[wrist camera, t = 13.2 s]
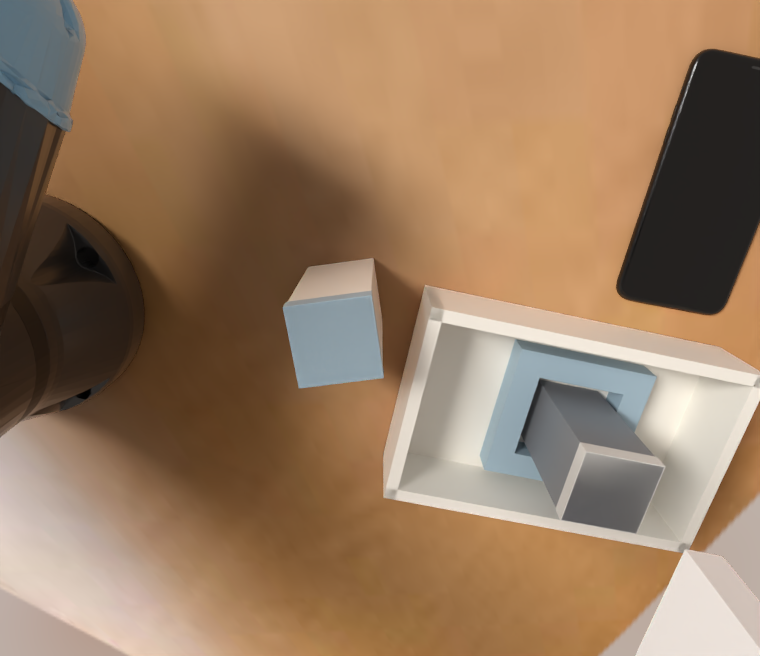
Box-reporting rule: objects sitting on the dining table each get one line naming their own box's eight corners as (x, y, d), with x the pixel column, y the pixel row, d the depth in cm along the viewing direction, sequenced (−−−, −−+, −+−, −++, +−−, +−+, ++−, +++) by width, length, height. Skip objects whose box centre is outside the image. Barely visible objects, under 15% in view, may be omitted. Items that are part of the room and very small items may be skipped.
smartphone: (715, 315, 40) (813, 72, 35) (722, 319, 39) (824, 71, 34) (608, 294, 39) (692, 46, 34) (613, 298, 38) (700, 43, 33)
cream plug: (319, 329, 40) (298, 388, 30) (307, 266, 38) (282, 307, 29) (383, 321, 39) (383, 377, 30) (374, 256, 38) (371, 295, 28)
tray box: (383, 454, 43) (383, 497, 37) (425, 284, 38) (431, 307, 33) (650, 505, 44) (687, 553, 39) (719, 346, 40) (770, 377, 35)
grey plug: (519, 434, 41) (560, 520, 32) (537, 378, 40) (586, 451, 31) (578, 445, 42) (636, 534, 32) (598, 390, 40) (665, 466, 31)
